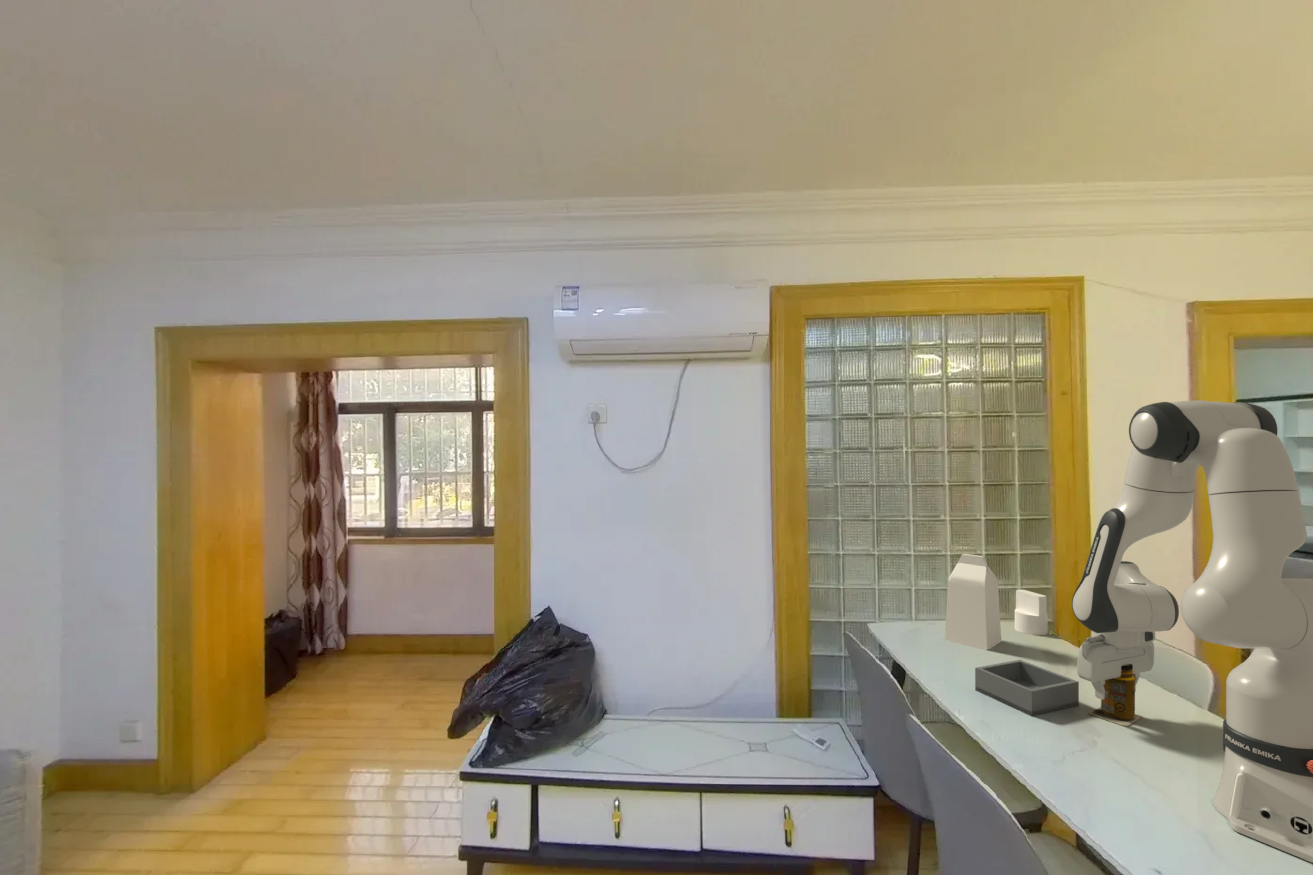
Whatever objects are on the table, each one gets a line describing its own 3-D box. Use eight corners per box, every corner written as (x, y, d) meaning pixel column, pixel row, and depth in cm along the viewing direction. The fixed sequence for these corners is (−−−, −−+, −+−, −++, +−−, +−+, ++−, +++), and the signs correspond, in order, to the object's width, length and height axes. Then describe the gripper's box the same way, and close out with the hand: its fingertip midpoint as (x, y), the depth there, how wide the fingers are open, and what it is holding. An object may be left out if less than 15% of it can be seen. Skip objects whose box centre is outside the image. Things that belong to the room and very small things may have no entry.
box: (1078, 705, 143) (1078, 681, 143) (1031, 716, 137) (1031, 691, 137) (1019, 681, 157) (1019, 659, 157) (975, 690, 151) (975, 667, 151)
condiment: (1142, 717, 137) (1142, 663, 137) (1126, 727, 132) (1126, 671, 132) (1104, 705, 143) (1104, 653, 143) (1088, 714, 138) (1088, 661, 138)
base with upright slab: (1008, 627, 200) (1007, 590, 200) (1029, 625, 203) (1029, 588, 203) (1032, 636, 192) (1032, 597, 191) (1054, 633, 194) (1054, 595, 194)
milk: (944, 640, 188) (944, 555, 188) (960, 632, 196) (960, 550, 196) (986, 650, 179) (986, 560, 179) (1001, 641, 187) (1001, 555, 187)
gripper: (1097, 642, 131) (1097, 708, 131) (1160, 631, 138) (1160, 693, 138) (1068, 634, 137) (1068, 696, 137) (1130, 623, 144) (1130, 683, 144)
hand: (1115, 695), depth 137 cm, fingers open, 8 cm apart
